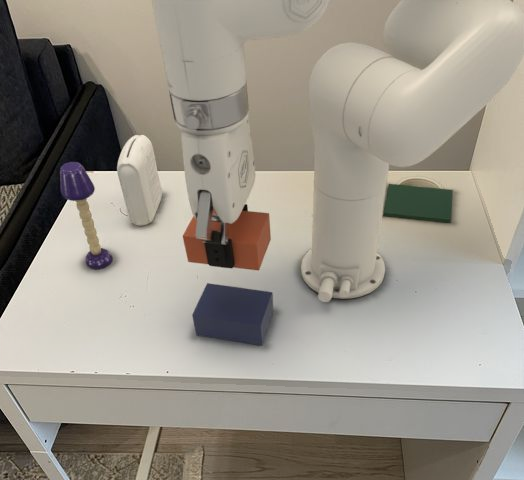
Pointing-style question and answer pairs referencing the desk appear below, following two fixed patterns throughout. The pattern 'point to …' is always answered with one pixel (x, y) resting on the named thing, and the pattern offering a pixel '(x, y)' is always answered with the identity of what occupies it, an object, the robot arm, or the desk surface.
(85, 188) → the toy lamp
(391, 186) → the mat
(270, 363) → the desk surface
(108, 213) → the desk surface
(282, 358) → the desk surface
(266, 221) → the orange rectangular brick
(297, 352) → the desk surface
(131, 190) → the photo printer
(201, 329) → the navy blue rectangular block
